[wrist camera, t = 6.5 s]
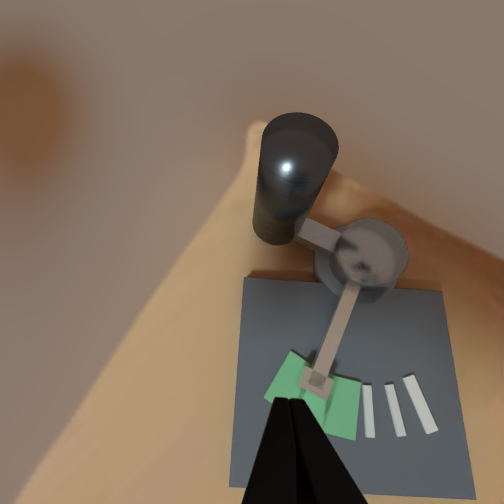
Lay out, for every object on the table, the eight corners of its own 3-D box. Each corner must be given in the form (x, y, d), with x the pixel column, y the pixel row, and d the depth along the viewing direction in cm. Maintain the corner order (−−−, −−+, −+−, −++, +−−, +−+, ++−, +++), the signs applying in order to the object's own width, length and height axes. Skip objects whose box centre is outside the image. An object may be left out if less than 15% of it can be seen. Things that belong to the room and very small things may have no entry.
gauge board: (463, 492, 18) (479, 501, 16) (229, 479, 17) (228, 488, 16) (423, 235, 23) (433, 229, 22) (247, 222, 23) (248, 215, 22)
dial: (397, 248, 21) (493, 183, 13) (342, 409, 18) (429, 451, 10) (267, 189, 23) (284, 96, 15) (189, 328, 19) (155, 304, 11)
